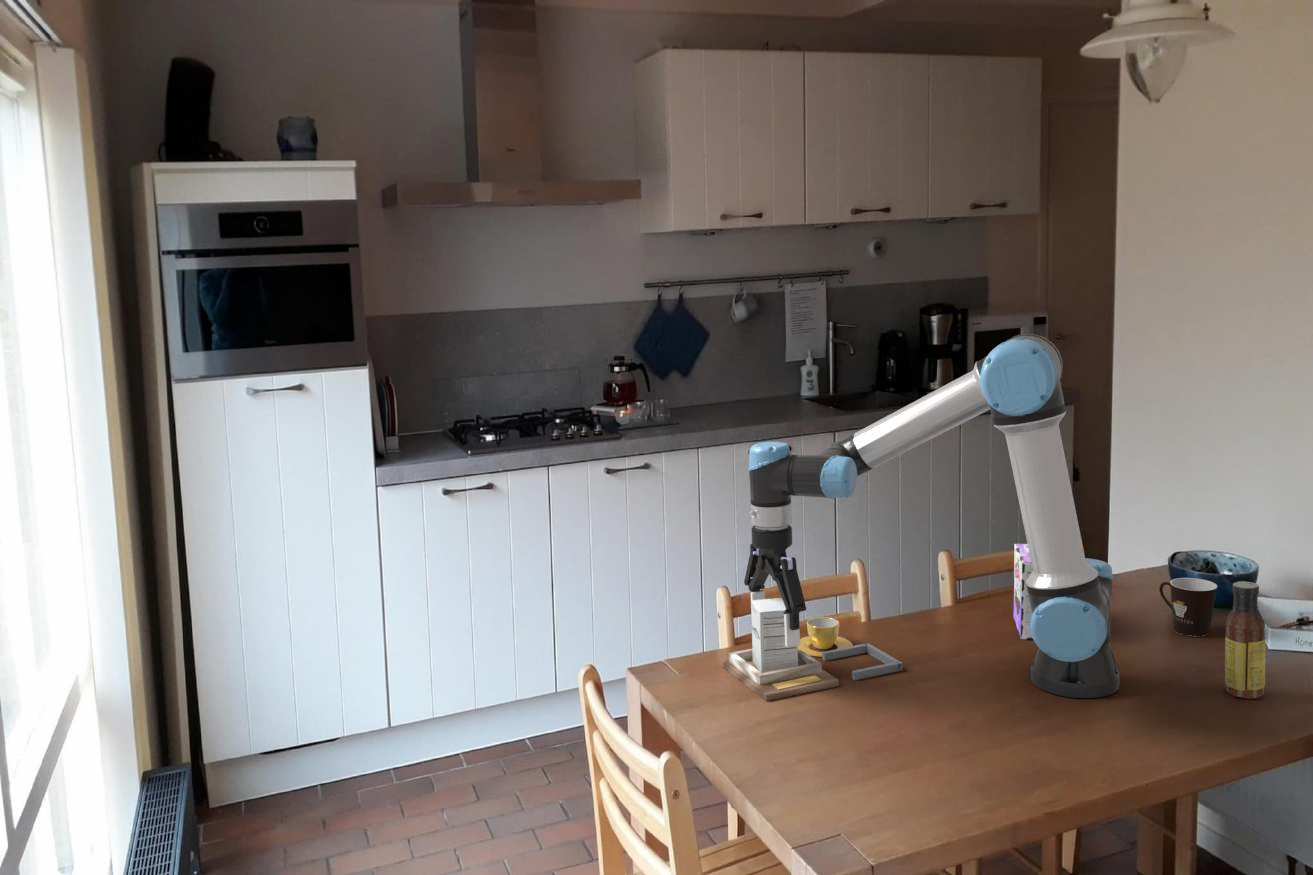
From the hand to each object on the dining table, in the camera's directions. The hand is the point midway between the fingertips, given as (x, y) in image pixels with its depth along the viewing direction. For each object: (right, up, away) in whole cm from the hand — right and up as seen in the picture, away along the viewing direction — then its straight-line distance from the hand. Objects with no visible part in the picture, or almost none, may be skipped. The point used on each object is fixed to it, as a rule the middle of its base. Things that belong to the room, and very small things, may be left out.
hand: (775, 634), depth 214 cm
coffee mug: (+86, -2, +16) cm, 87 cm away
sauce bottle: (+80, -8, -16) cm, 82 cm away
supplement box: (0, -7, +1) cm, 7 cm away
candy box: (+55, -2, +20) cm, 58 cm away
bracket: (+16, -7, +4) cm, 18 cm away
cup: (+11, -5, +14) cm, 19 cm away
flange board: (+1, -8, 0) cm, 8 cm away
